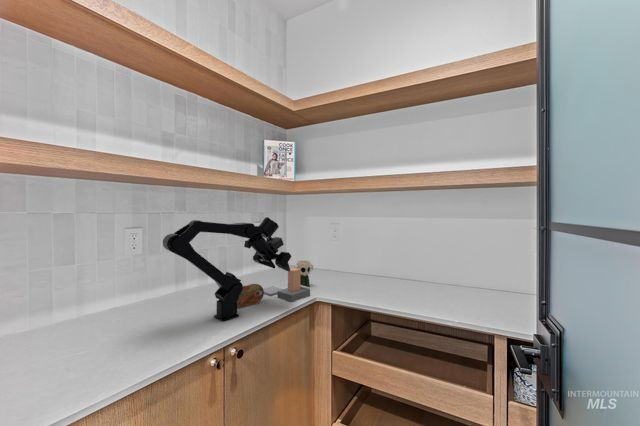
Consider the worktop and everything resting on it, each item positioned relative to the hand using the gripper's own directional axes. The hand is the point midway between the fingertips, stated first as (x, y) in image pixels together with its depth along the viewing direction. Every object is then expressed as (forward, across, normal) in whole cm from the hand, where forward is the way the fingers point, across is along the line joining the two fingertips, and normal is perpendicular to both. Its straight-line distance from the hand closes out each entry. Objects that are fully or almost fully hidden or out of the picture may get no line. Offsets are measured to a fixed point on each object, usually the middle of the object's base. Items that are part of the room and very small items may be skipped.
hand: (281, 269), depth 119 cm
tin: (0, +7, +20) cm, 21 cm away
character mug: (+26, +8, -6) cm, 28 cm away
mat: (+14, +13, +6) cm, 20 cm away
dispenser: (+15, 0, +5) cm, 16 cm away
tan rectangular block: (+15, 0, +5) cm, 16 cm away
